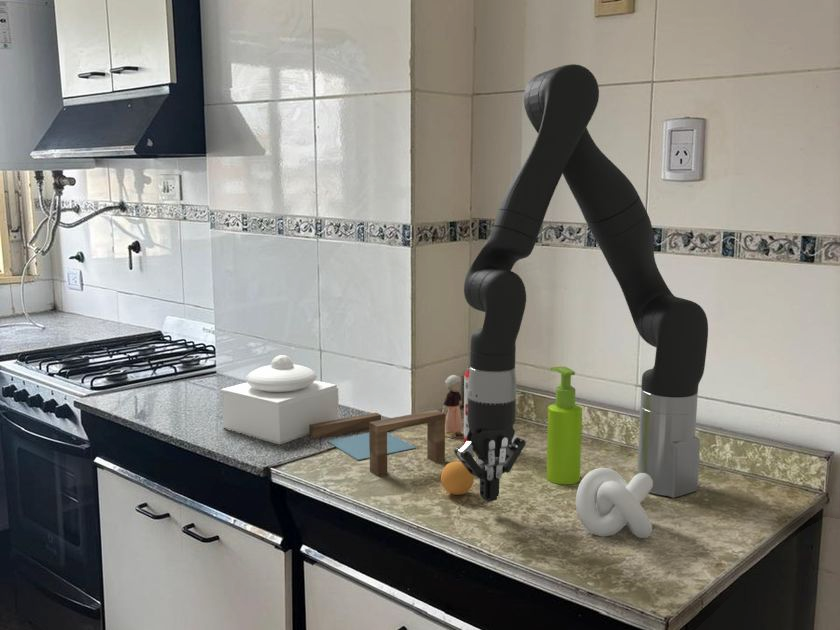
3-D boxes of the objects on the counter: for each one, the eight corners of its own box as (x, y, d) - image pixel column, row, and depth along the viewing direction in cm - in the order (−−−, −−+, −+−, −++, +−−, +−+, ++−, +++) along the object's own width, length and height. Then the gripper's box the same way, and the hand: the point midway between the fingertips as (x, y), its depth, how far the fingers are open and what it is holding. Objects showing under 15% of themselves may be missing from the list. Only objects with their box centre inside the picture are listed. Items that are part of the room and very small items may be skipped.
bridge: (444, 460, 156) (444, 413, 154) (377, 476, 148) (377, 426, 146) (436, 456, 158) (436, 409, 157) (369, 471, 151) (369, 422, 149)
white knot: (605, 507, 134) (607, 455, 133) (674, 529, 126) (677, 473, 124) (566, 529, 126) (568, 473, 125) (636, 553, 118) (639, 494, 116)
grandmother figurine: (457, 440, 168) (457, 380, 165) (439, 438, 169) (439, 378, 167) (467, 429, 175) (467, 371, 173) (450, 427, 176) (450, 370, 174)
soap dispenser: (565, 468, 151) (568, 363, 148) (586, 481, 145) (589, 371, 142) (537, 473, 149) (540, 366, 146) (557, 486, 143) (560, 374, 139)
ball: (480, 495, 139) (480, 463, 138) (453, 502, 136) (453, 470, 135) (461, 485, 144) (461, 454, 143) (434, 491, 141) (434, 460, 140)
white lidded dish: (280, 445, 166) (277, 368, 163) (221, 429, 176) (218, 357, 174) (339, 424, 179) (337, 353, 177) (282, 410, 190) (279, 343, 187)
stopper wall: (381, 425, 177) (381, 414, 177) (313, 438, 169) (313, 427, 168) (376, 423, 179) (376, 412, 179) (309, 436, 171) (309, 424, 170)
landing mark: (416, 448, 163) (416, 447, 163) (358, 460, 156) (358, 459, 156) (383, 431, 174) (383, 430, 174) (327, 442, 167) (327, 441, 167)
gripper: (471, 406, 122) (469, 516, 125) (539, 394, 129) (536, 499, 132) (443, 395, 128) (442, 500, 131) (510, 384, 135) (507, 484, 138)
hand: (489, 499), depth 132 cm, fingers closed
